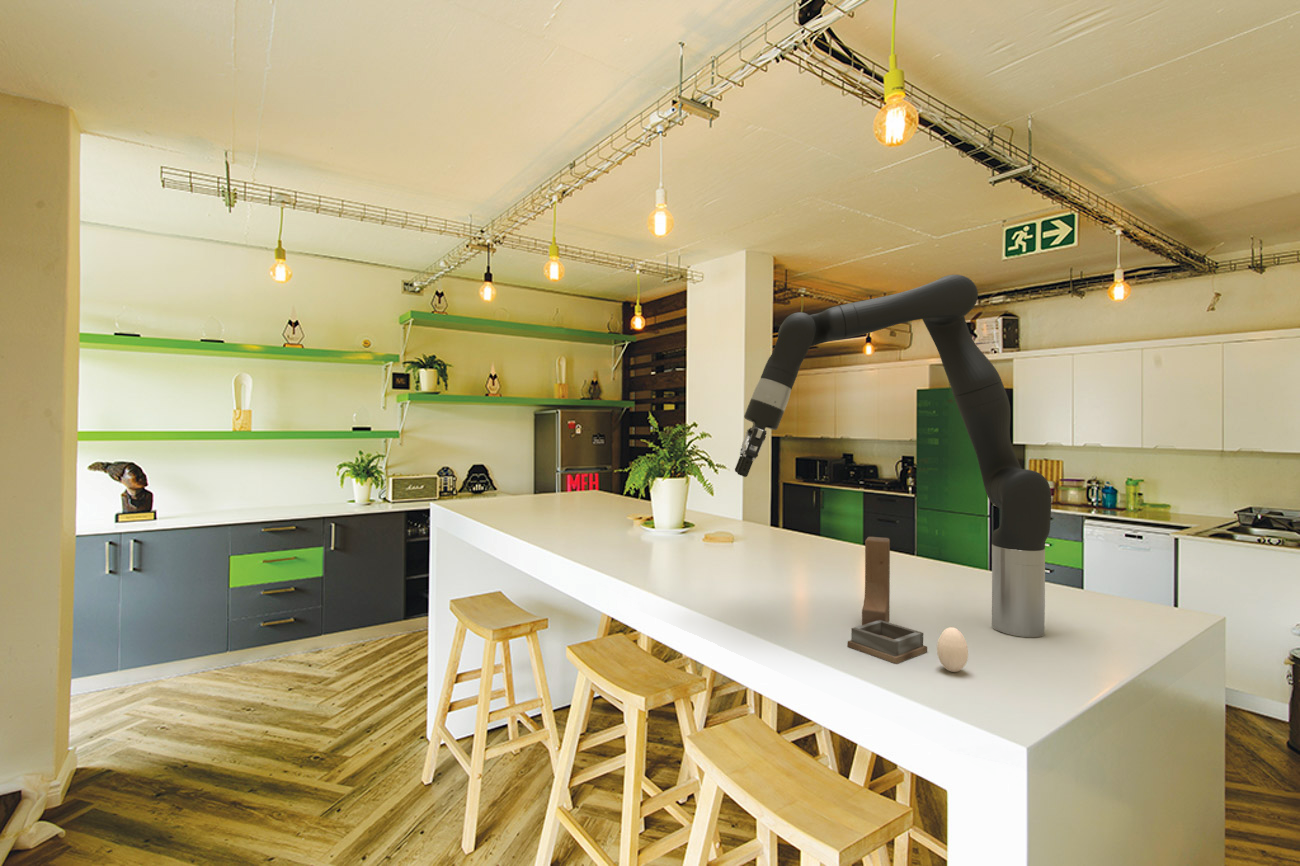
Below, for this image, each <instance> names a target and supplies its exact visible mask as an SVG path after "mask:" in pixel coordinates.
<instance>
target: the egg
mask: <svg viewBox="0 0 1300 866" xmlns="http://www.w3.org/2000/svg"><path fill="white" fill-rule="evenodd" d="M968 648H969V647H968V643H967V641H966V639H965V637H964V635H963V633H962V632H961V631H960V630H959V629H957V627H953V626H949V627H947V628H945V629H944V630H943V631H942V633H940V636H939V638H938V640H937V645H936V651H937V656H938V660H939V662H940V663H941V665H942V666H943V667H944V668H945V669H946V670H947V671H949V672H951V673H956V672H959V671H962V669H964V667H965V666H966V664H967V662H968V660H969V649H968Z"/></svg>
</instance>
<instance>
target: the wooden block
mask: <svg viewBox="0 0 1300 866" xmlns="http://www.w3.org/2000/svg"><path fill="white" fill-rule="evenodd" d="M864 543H865V544H864V547H865V548H864V551H865V553H864V554H865V555H864V559H865V560H864V599H863V606H862V607H861V608H862V609H861V625H864V624H868V623H871V622H874V621H878V620H882V621H885V622H889V623H890V608H891V607H890V603H891V602H890V600H891V599H890V597H891V596H890V594H891V592H890V591H891V590H890V589H891V588H890V587H891V585H890V583H891V582H890V580H891V579H890V577H891V576H890V575H891V573H890V572H891V569H890V568H891V567H890V566H891V565H890V564H891V559H890V558H891V554H890V553H891V544H890V543H891V540H890V538H889V537H878V536H867V538H865V541H864Z"/></svg>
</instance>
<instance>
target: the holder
mask: <svg viewBox="0 0 1300 866" xmlns="http://www.w3.org/2000/svg"><path fill="white" fill-rule="evenodd" d="M850 631H851V636H850V637H851V639H850V640H847V642H846V643H847V646H846V647H847V648H851V649H853V650H855V651H859V652H861V653H864V654H867V655H870V656H872V657H876V658H879V659H882V660H884V661H887V662H890V663H892V664H896V665H897V664H900V663H903V662H904V661H908V660H910V659H913V658H916V657H918V656H921V655H923V654H925V653H928V646H927V645H925V644H924V632H922V631H918V630H915V629H912V628H909V627H905V626H902V625H899V624H895V623H891V622H890V621H889V622H885V621H882V620H878V621H874V622H871V623H868V624H864V625H862V624H861V625H858V626H855V627H852V628H851V630H850Z"/></svg>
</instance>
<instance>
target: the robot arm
mask: <svg viewBox="0 0 1300 866" xmlns="http://www.w3.org/2000/svg"><path fill="white" fill-rule="evenodd" d="M978 297H979V291H978V288H977V286H976V284H975V283H974V281H973V280H972V279H971V278H969V277H967V276H965V275H961V274H948V275H945V276H942V277H940V278H938V279H937V280H934V281H931V282H929V283H926V284H923V285H921V286H918V287H914V288H912V289H907V290H906V291H905V290H904V291H902V292H898V293H894V294H890V295H885V296H880V297H875V298H870V299H864V300H859V301H854V302H851V303H844V304H841V305H836V306H832V307H829V308H827V309H825V310H823V311H822V312H821V311H820V312H818V313H813V314H809V313H806V312H800V311H799V312H794V313H792V314H789V315H788V316H787V317H786V318H785V319H784V320H783V322H781V323H782V324H780V326H779V328H778V332H777V339H776V341H775V345H774V347H773V350H772V353H771V354H770V356H769V357H768V359H767V361H766V364H765V366H764V368H763V371H762V373H761V375H760V378H759V380H758V381H757V384H756V386H755V388H754V390H753V393H752V395H751V398H750V401H749V403H748V406H747V408H746V411H745V412H744V420H747V421H748V422H751V423H752V426H751V427H749V428H748V429H746V432H745V434H744V439H743V441H742V443H741V444H742V445H741V448H740V452H739V458H738V460H737V463H736V465H735V468H734V472H735V473H736V474H737V475H739V476H742V477H743V478H746V477H748V475H749V473H750V470H751V468H752V465H753V463H754V461H755V460H756V459H757V458H758V456H759V453H760V451H761V449H762V447H763V444H764V442H765V440H766V435H767V432H768V431H767V430H766V428H767V429H769V430H774V431H777V430H778V428H779V426H780V424H781V421H782V418H783V416H784V413H785V411H786V408H787V405H788V403H789V400H790V397H791V392H792V390H793V387H794V384H795V382H796V379H797V378H798V375H799V371H800V368H801V364H802V363H803V361H804V359H805V357H806V356H807V354H808V352H809V349H810V348H811V347H813V346H818V345H821V344H825V343H827V342H831V341H839V340H844V339H849V338H854V337H858V336H862V335H866V334H871V333H874V332H877V331H880V330H884V329H887V328H890V327H893V326H896V325H900V324H904V323H908V322H913V321H918V320H922V322H923V324H924V325H925V328H926V329H927V331H928V333H929V335H930V337H931V339H932V341H933V343H934V345H935V348H936V350H937V351H938V354H939V358H940V359H941V360H940V361H941V364H942V366H943V370H944V372H945V375H946V377H947V380H948V383H949V386H950V389H951V392H952V395H953V398H954V400H955V403H956V406H957V408H958V410H959V414H960V416H961V418H962V421H963V424H964V425H965V429H966V431H967V434H968V437H969V439H970V442H971V444H972V446H973V449H974V452H975V455H976V459H977V462H978V466H979V470H980V474H981V477H982V482H983V486H984V490H985V494H986V496H987V498H988V500H989V501H990V502H991V504H993V505H994V506H995V507H996V508H998V509H1000V510H1001V520H1000V521H1001V522H1000V525H999V526H998V528H996V529H994V530H993V532H992V534H991V535H992V536H991V540H992V541H991V627H992V628H993V629H994V630H996V631H997V632H1001V633H1003V634H1006V635H1011V636H1015V637H1016V636H1017V637H1023V638H1040V637H1044V636H1045V634H1046V633H1045V632H1046V630H1045V628H1046V624H1045V623H1046V622H1045V621H1046V620H1045V619H1046V542H1047V539H1048V537H1049V535H1050V532H1051V530H1050V529H1051V517H1052V502H1053V501H1052V490H1051V487H1050V486H1051V485H1050V484H1049V482H1048V480H1047V478H1046V476H1044V475H1042V473H1040V472H1038V471H1035V470H1031V469H1025V468H1022V466H1021V464H1020V463H1019V460H1018V459H1017V456H1016V453H1015V451H1014V448H1013V446H1012V442H1011V441H1012V440H1011V431H1010V430H1011V405H1010V401H1009V396H1008V393H1007V392H1006V389H1005V386H1004V384H1003V380H1002V378H1001V376H1000V374H999V372H998V370H997V368H996V366H994V364H993V363H992V362H991V361H990V360H989V358H988V357H987V356H986V355H985V354H984V352H983V351H982V350H981V349H980V348H979V347H978V345H977V344H976V343H975V341H974V339H973V337H972V335H971V332H970V330H969V327H968V324H967V321H966V317H965V316H966V315H968V314H969V313H970V312H971V311H972V310H973V309H974V308H975V305H976V304H977V301H978Z"/></svg>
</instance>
